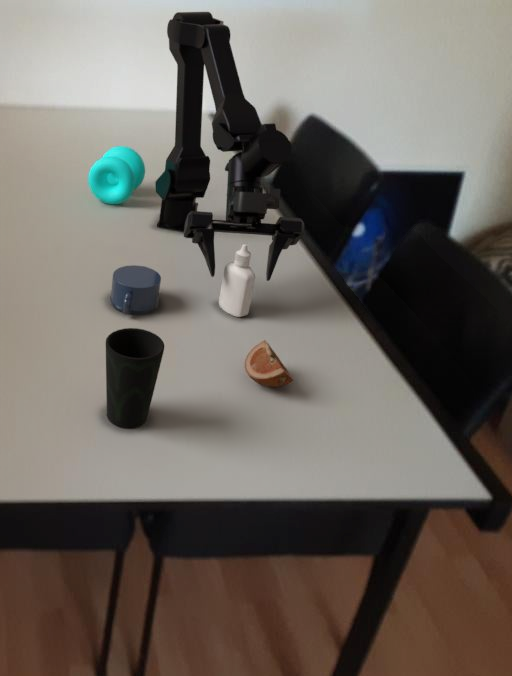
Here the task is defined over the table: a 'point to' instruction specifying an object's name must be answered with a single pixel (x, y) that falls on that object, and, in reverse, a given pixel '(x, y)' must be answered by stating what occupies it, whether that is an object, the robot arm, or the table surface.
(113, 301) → the blue mug
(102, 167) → the donuts
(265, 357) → the fruit slice
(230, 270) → the eye dropper bottle
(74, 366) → the table surface
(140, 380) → the cup
